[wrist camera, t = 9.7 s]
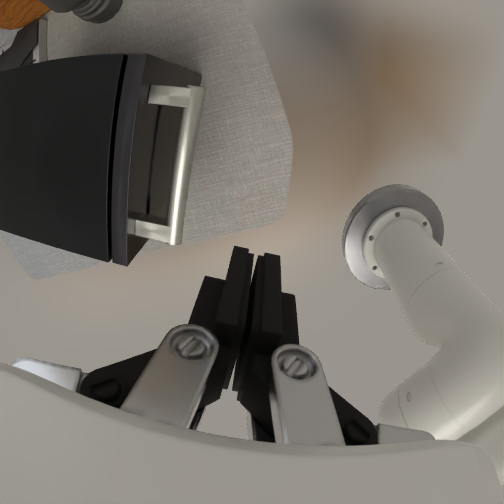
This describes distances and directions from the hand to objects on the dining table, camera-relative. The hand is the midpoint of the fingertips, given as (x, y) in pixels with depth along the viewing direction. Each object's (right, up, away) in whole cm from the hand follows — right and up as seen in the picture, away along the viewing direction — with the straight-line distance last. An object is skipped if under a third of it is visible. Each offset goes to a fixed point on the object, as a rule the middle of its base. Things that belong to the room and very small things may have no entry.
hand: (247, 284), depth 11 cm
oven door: (-7, +16, +25) cm, 30 cm away
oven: (-19, +18, +24) cm, 36 cm away
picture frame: (-43, +32, +19) cm, 57 cm away
